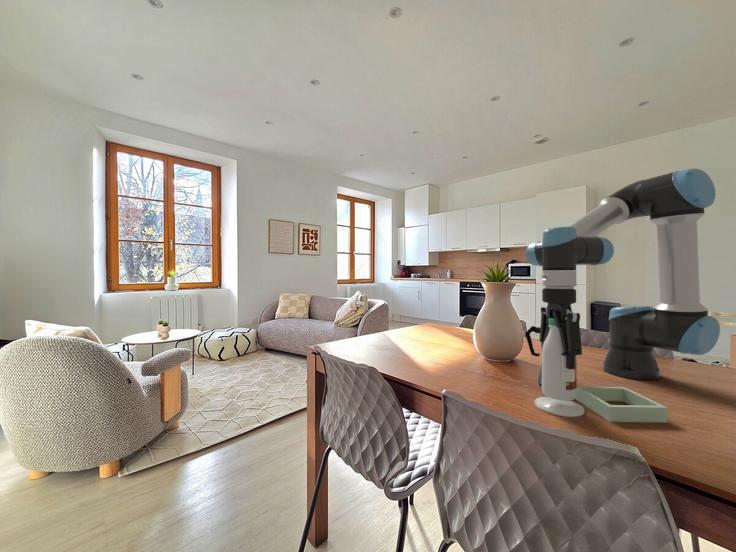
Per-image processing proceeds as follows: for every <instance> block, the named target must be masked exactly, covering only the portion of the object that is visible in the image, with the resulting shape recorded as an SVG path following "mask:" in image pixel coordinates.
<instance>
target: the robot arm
mask: <svg viewBox="0 0 736 552" xmlns="http://www.w3.org/2000/svg"><path fill="white" fill-rule="evenodd" d="M715 199H716V188H715V183H714V182H713V179H712V177H711V176H709V175H708V173H707V172H706V171H704V170H702V169H699V168H688V169H683V170H675V171H673V172H670V173H666V174H662V175H658V176H655V177H650V178H646V179H642V180H638V181H636V182H635V181H634V182H632V183H631V184H628V185H626V186H625V187H622V188H621V189H618V190H617V191H615V192H613V193H612V194H611V195H609V196H607V197H605V198H604V199H602V200H601V201H600V202H599V203H598V205H597V207H595V208H594V209H592V210H591V211H589V212H587V213H586V214H585V215H583V216H581V217H580V218H578V219H577V220H575V221H573V222H572V223H570V224H568V225H566V226H556V227H555V226H554V227H549V228H546V229H545V230H544V231H543V232H542V241H536V242H533V243H531V244H529V245H528V246H527V248H526V251H525V257H526V260H527V262H528V263H529V264H530V265H532V266H535V267H542V275H541V276H540V277H541V279H542V286H543V288H542V289H541V296H542V297H541V299H542V302H543V303H547V306H546V307H545V306H543V307H540V315H541V317H540V333H539V342H540V343H541V342H543V344H544V342H545V340H546V338H547V336H548V334H549V330H550V327H549V318H554V319H555V322H556V327H557V328H559V332H560V336H561V341H562V346H563V350H564V353H561V355H562V381H563V382H575V356H576V357H577V356H582V355H583V351H582V350H583V349H582V338H581V335H580V333H581V327H580V326H581V325H580V320H581V314H580V313H579V312H573V309H572V304H576V303H577V289H576V288H575V287H577V266H588V265H589V266H597V265H598V266H600V265H603V264H606V263H609V261H611V259H612V258H613V255H614V244H613V243H612V242H611V240H609V239H608V238H605V237H601V236H600V237H599V236H598V235H600V234H602V233H603V232H605V231H607V230H608V229H609V228H610V227H612V226H614V225H620V224H622V223H625V222H626V221H628V220H631V219H636V218H641V217H649V221H650V222H652V223H653V224H655V225H656V234H657V237H656V239H657V256H658V257H657V261H658V263H657V264H658V281H659V283H658V285H659V302H658V303H657V304H656V305H654V306H652V305H651V306H650V305H647V306H646V305H644V306H643V305H642V306H638V305H637V306H615V307H612V308H611V309H610V310H609V315H608V316H609V317H608V328H609V331H608V333H609V334H608V337H609V338H608V339H609V341H608V343H609V344H608V345H609V346H608V350H607V352H606V355H605V358H604V360H603V361H602V370H603V371H604V372H606V373H608V374H611V375H614V376H619V377H622V378H628V379H634V380H643V381H644V380H646V381H651V380H652V381H655V380H659V379H661V370H660V368H659V366H658V363H657V360H656V357H655V354H654V348H656V349H662V350H666V351H671V352H677V353H680V354H683V355H687V354H689V355H695V356H702V355H706V354H708V353H709V352H711V351H712V350H713V349H714V347H715V346H716V344H718V340H719V338H720V334H721V325H720V323H719V320H718V319H717V318H716V317H713V316H711V315H709V312H708V310H709V309H708V307H706V306H705V305H703V304H702V303H700V301H701V299H700V298H701V297H700V269H699V266H700V265H699V243H698V242H699V239H698V221H699V220H700V219H702V218H703V217H704V216H705V209H707V208H708V207H710V206H712V205H713V204H714V203H715ZM561 323H566V324H561Z"/></svg>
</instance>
